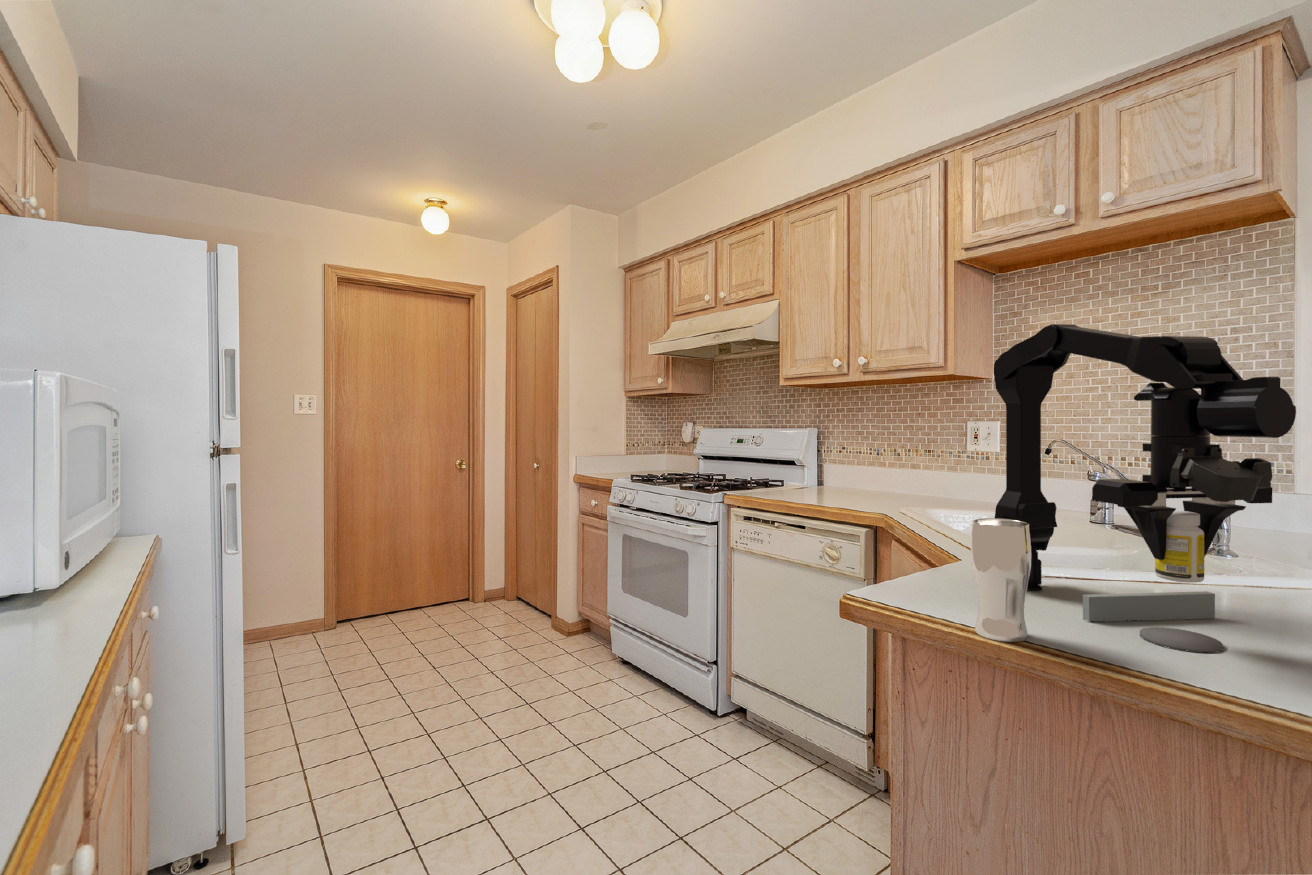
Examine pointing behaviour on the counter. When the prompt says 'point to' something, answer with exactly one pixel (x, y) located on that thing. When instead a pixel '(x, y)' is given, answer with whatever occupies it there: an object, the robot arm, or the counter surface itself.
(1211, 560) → the counter surface
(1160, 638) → the coaster
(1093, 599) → the gray rectangular bar
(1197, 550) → the supplement bottle
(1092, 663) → the counter surface
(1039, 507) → the robot arm
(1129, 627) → the counter surface
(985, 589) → the beer glass
